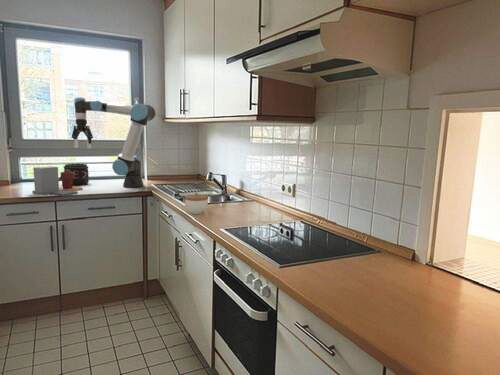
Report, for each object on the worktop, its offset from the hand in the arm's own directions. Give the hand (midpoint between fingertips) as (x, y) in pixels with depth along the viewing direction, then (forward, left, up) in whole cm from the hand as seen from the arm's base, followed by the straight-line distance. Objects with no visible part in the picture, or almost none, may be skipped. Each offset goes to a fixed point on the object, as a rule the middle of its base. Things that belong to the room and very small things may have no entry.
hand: (82, 147), depth 275 cm
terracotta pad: (-4, +17, -29) cm, 34 cm away
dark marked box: (+15, -4, -30) cm, 33 cm away
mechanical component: (-5, +17, -28) cm, 33 cm away
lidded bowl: (-123, +22, -30) cm, 128 cm away
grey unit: (-4, +32, -29) cm, 44 cm away
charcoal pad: (-17, +28, -29) cm, 44 cm away
